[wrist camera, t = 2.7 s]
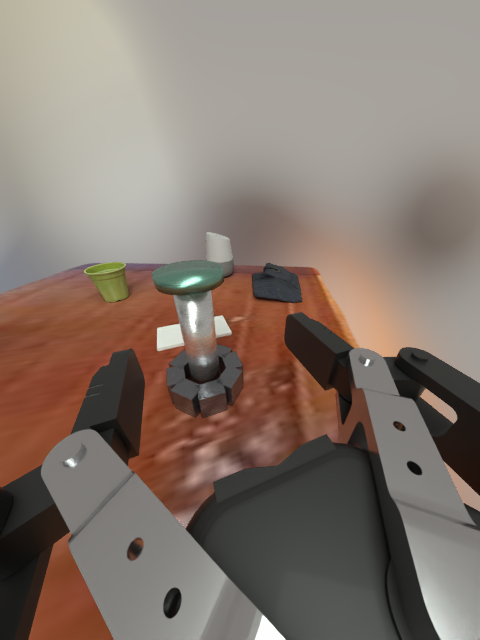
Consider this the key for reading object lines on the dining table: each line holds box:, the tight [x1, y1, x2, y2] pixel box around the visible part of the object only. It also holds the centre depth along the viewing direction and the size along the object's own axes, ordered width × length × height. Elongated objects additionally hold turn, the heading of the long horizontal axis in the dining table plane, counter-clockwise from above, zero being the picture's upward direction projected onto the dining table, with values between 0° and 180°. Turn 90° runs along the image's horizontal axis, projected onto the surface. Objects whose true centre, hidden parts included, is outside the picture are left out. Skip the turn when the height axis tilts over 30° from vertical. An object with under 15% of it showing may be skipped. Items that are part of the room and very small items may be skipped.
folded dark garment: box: [252, 263, 302, 303], centre depth 59 cm, size 15×22×5 cm
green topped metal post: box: [152, 260, 224, 384], centre depth 25 cm, size 7×7×17 cm
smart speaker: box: [206, 232, 234, 277], centre depth 66 cm, size 10×9×14 cm
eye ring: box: [167, 344, 243, 418], centre depth 28 cm, size 10×10×4 cm
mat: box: [157, 315, 232, 351], centre depth 40 cm, size 14×7×1 cm, turn 109°
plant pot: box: [84, 262, 129, 302], centre depth 53 cm, size 9×9×9 cm
